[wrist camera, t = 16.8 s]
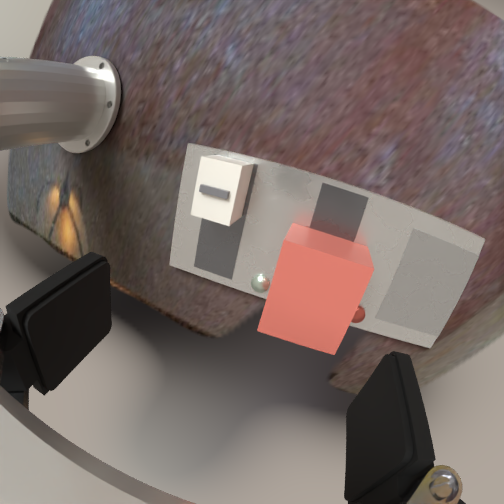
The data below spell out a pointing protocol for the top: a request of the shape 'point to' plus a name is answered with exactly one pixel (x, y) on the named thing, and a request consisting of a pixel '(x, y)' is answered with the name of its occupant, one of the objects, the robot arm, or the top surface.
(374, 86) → the top surface
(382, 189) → the top surface
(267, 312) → the lockout cap
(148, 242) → the top surface
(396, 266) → the panel
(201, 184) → the block
